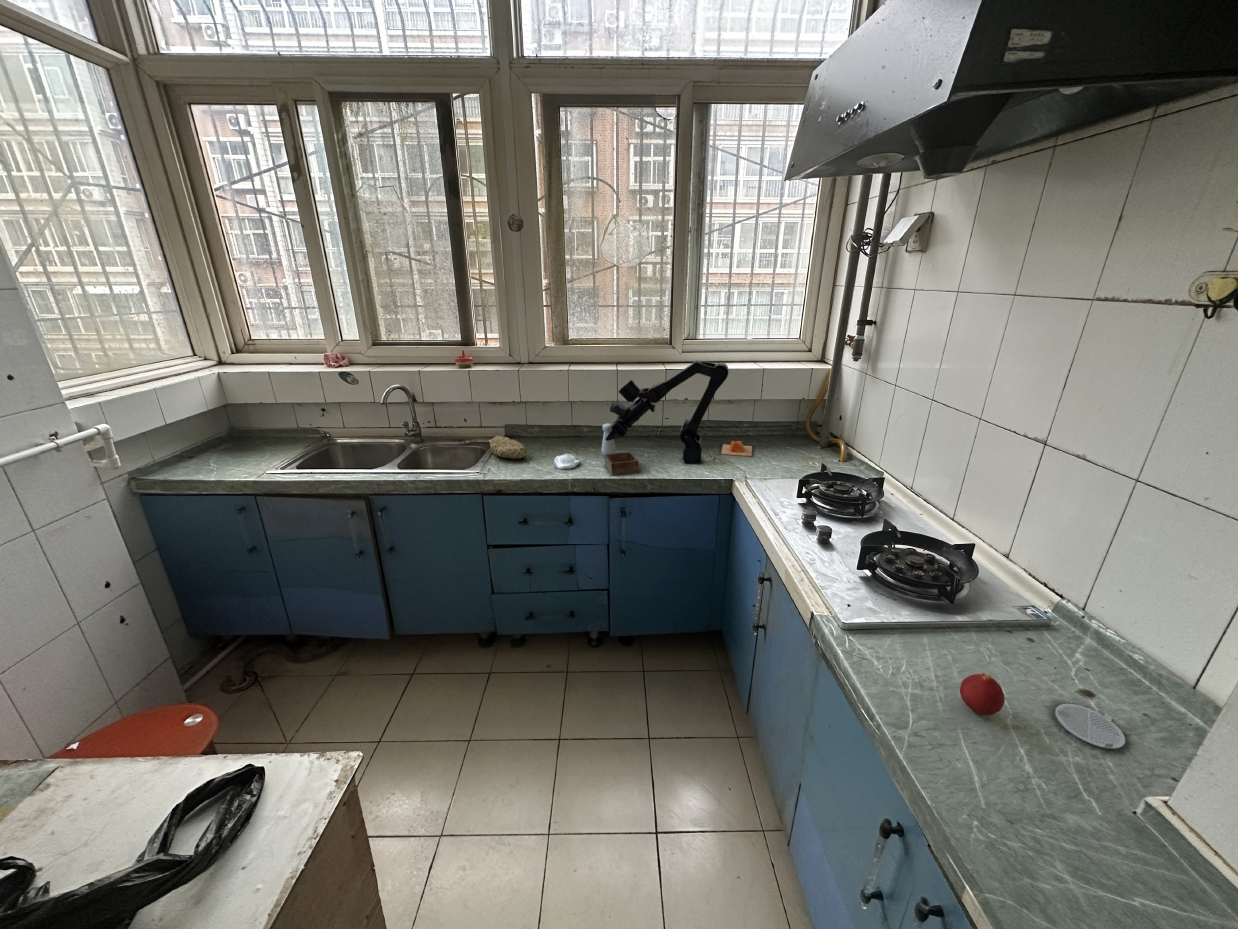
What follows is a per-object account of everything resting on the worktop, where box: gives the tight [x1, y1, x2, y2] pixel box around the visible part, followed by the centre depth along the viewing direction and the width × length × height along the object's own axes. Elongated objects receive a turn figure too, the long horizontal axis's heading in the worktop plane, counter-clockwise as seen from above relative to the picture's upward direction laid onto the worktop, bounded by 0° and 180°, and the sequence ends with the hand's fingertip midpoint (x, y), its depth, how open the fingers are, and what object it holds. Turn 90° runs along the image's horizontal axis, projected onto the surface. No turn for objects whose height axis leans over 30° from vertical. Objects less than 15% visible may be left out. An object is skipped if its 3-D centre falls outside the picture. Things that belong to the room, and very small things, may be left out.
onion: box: [959, 672, 1006, 716], centre depth 81 cm, size 6×6×8 cm
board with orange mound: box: [720, 440, 753, 457], centre depth 203 cm, size 12×12×4 cm
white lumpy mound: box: [554, 453, 581, 470], centre depth 189 cm, size 10×4×10 cm
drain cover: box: [1054, 703, 1126, 750], centre depth 79 cm, size 8×8×1 cm
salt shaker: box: [601, 422, 617, 457], centre depth 197 cm, size 6×6×13 cm
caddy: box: [604, 451, 640, 476], centre depth 185 cm, size 10×10×5 cm
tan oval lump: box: [489, 435, 527, 460], centre depth 199 cm, size 13×8×20 cm
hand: (608, 436), depth 196 cm, fingers open, 9 cm apart
